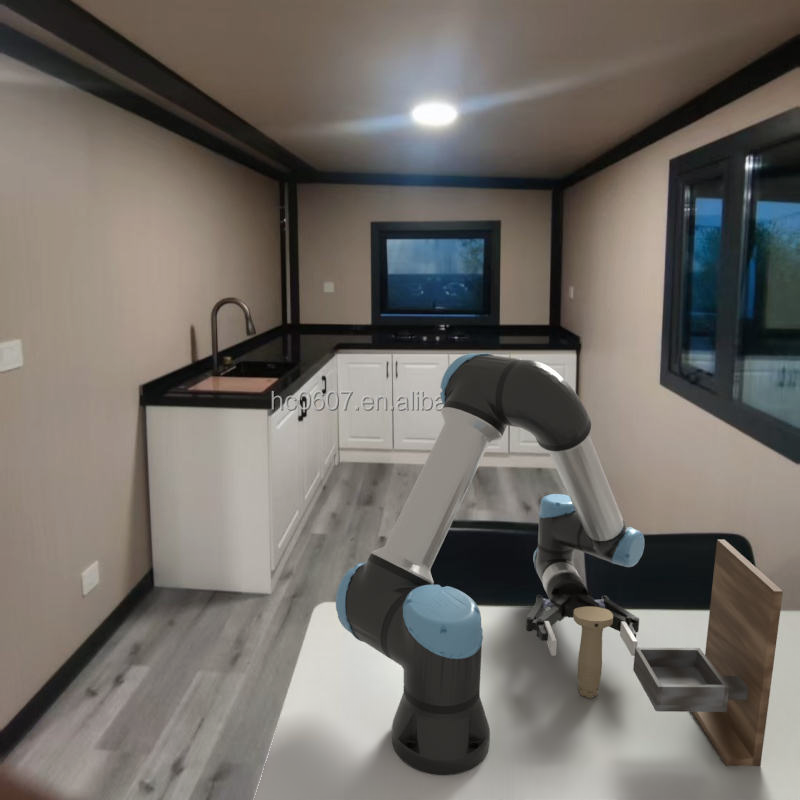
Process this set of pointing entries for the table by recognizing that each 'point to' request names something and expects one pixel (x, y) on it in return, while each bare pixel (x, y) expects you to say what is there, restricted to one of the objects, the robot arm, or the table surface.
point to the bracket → (723, 662)
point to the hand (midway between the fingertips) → (594, 648)
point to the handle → (591, 647)
